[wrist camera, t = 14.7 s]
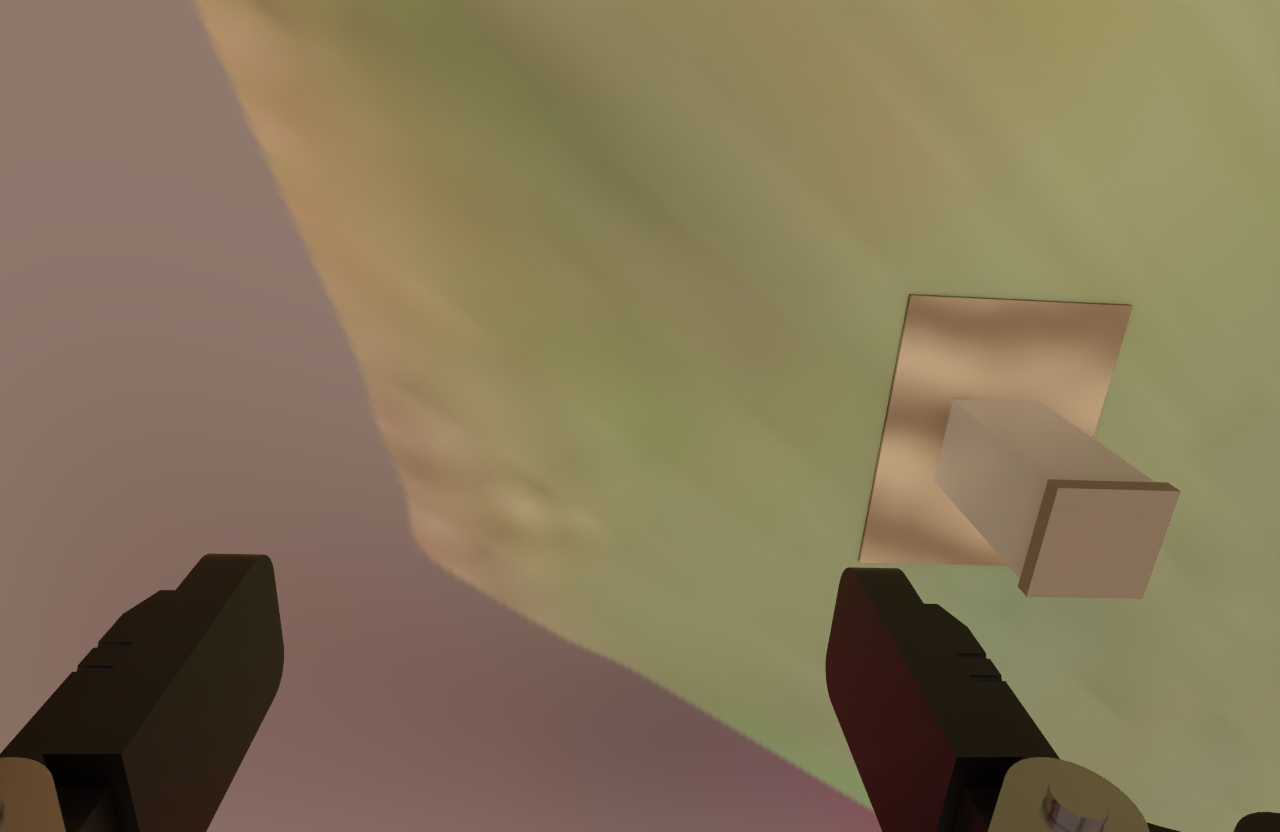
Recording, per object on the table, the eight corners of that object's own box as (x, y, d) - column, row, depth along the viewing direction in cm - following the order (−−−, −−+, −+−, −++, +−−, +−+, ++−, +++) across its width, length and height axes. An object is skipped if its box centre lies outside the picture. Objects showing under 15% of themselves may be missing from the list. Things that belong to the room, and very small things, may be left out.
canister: (949, 395, 43) (1058, 488, 33) (1045, 398, 44) (1180, 491, 34) (930, 484, 45) (1026, 596, 35) (1021, 486, 46) (1142, 598, 36)
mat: (909, 294, 41) (910, 295, 41) (1130, 305, 42) (1132, 305, 42) (858, 560, 47) (859, 562, 47) (1052, 564, 48) (1054, 566, 48)
